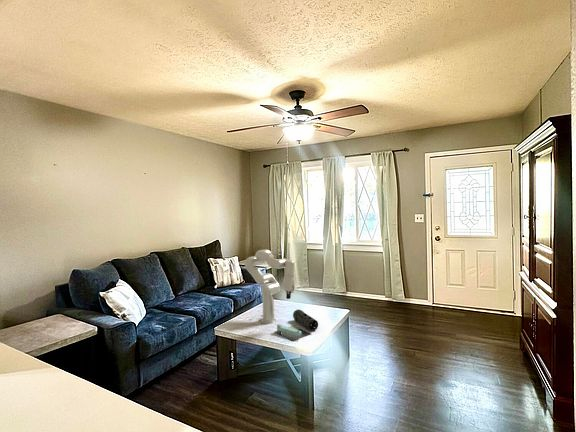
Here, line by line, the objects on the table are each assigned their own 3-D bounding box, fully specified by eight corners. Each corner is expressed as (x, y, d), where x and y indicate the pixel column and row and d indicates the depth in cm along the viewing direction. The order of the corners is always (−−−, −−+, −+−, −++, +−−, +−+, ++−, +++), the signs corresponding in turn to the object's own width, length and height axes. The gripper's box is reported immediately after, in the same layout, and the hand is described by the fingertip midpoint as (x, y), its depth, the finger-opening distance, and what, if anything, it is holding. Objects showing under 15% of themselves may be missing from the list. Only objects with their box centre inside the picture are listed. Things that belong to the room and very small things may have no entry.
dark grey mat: (273, 333, 239) (273, 331, 239) (293, 326, 252) (293, 325, 252) (291, 342, 222) (291, 340, 222) (312, 335, 235) (312, 333, 235)
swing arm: (276, 331, 238) (276, 325, 238) (279, 330, 241) (279, 324, 240) (299, 339, 225) (299, 332, 224) (302, 337, 227) (302, 330, 227)
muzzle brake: (307, 333, 238) (307, 320, 238) (292, 321, 264) (291, 309, 264) (318, 331, 242) (318, 318, 242) (302, 320, 268) (302, 308, 268)
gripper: (279, 274, 252) (278, 296, 253) (291, 278, 240) (290, 302, 241) (287, 273, 256) (286, 295, 257) (298, 277, 245) (298, 300, 246)
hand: (288, 298), depth 249 cm, fingers closed
